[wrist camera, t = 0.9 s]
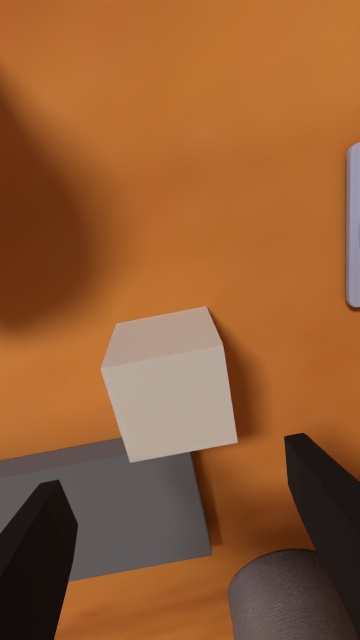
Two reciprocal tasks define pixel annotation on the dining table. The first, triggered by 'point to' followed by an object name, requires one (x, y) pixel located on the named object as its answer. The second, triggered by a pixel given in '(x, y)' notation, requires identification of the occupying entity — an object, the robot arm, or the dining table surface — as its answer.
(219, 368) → the cube
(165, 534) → the serving board
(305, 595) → the pillar candle
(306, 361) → the dining table surface
